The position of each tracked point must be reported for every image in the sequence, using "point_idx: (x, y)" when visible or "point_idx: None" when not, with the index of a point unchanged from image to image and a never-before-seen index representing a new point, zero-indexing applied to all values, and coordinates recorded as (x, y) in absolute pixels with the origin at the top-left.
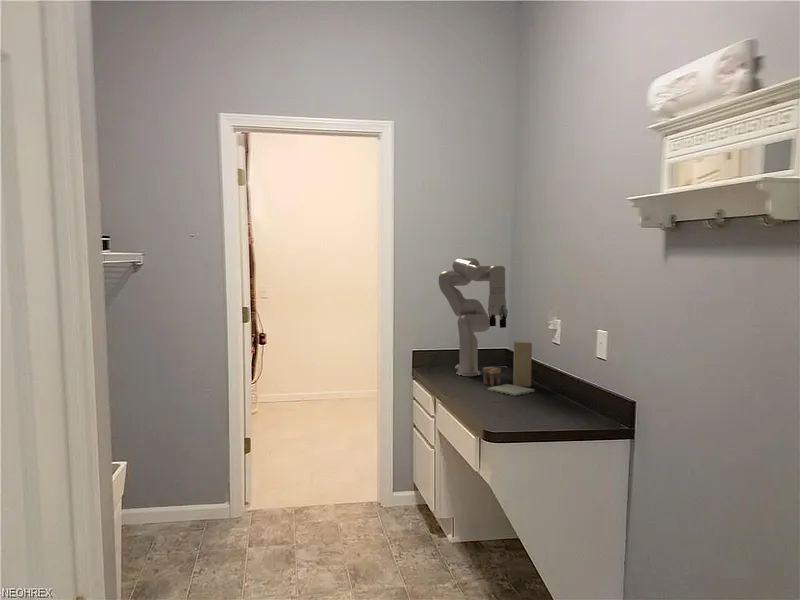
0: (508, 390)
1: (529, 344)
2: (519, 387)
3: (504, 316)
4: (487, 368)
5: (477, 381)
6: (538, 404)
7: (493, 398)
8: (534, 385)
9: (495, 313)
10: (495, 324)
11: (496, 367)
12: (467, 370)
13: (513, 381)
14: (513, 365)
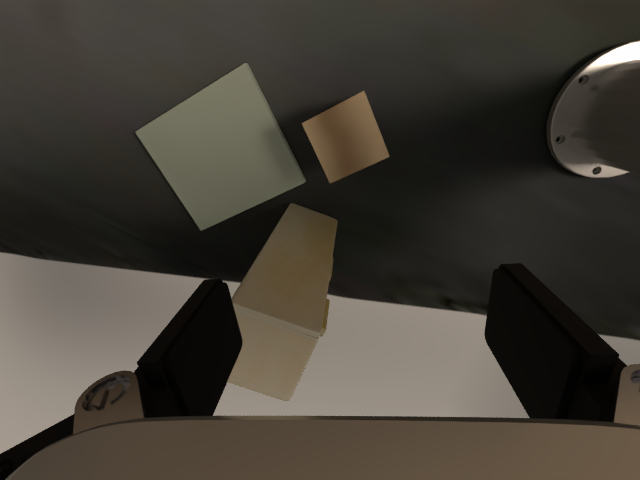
0: (191, 134)
1: None
2: (236, 197)
3: (22, 456)
4: (341, 110)
5: (431, 92)
6: (33, 154)
7: (103, 27)
8: None
9: (132, 458)
10: (491, 346)
11: (354, 170)
12: (596, 90)
13: (323, 218)
14: (330, 250)
